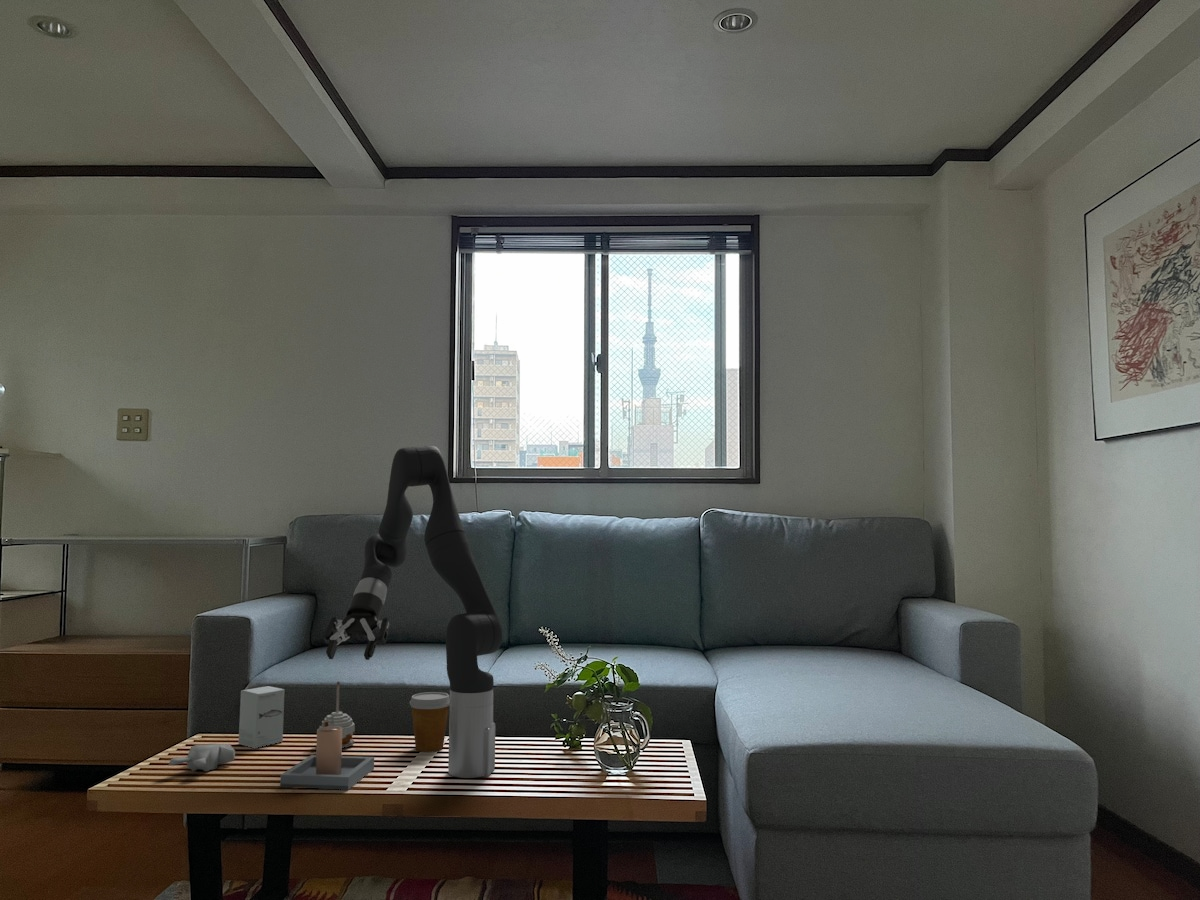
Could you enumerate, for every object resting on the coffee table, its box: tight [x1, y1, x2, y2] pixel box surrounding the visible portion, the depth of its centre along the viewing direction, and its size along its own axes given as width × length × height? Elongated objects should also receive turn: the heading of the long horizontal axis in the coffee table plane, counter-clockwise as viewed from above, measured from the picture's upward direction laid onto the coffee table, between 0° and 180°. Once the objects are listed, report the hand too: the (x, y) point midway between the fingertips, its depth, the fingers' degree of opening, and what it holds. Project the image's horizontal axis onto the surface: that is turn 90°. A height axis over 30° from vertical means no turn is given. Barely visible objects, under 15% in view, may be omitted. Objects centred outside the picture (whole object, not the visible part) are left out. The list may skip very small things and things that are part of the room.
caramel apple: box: [318, 680, 356, 749], centre depth 196 cm, size 8×8×15 cm
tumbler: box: [315, 726, 343, 775], centre depth 173 cm, size 5×5×9 cm
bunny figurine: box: [168, 743, 236, 772], centre depth 178 cm, size 10×5×15 cm
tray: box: [279, 754, 375, 791], centre depth 172 cm, size 14×14×2 cm
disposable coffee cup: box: [409, 691, 450, 753], centre depth 195 cm, size 10×10×12 cm
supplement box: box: [238, 685, 285, 749], centre depth 199 cm, size 7×7×13 cm
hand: (348, 657), depth 189 cm, fingers open, 8 cm apart
